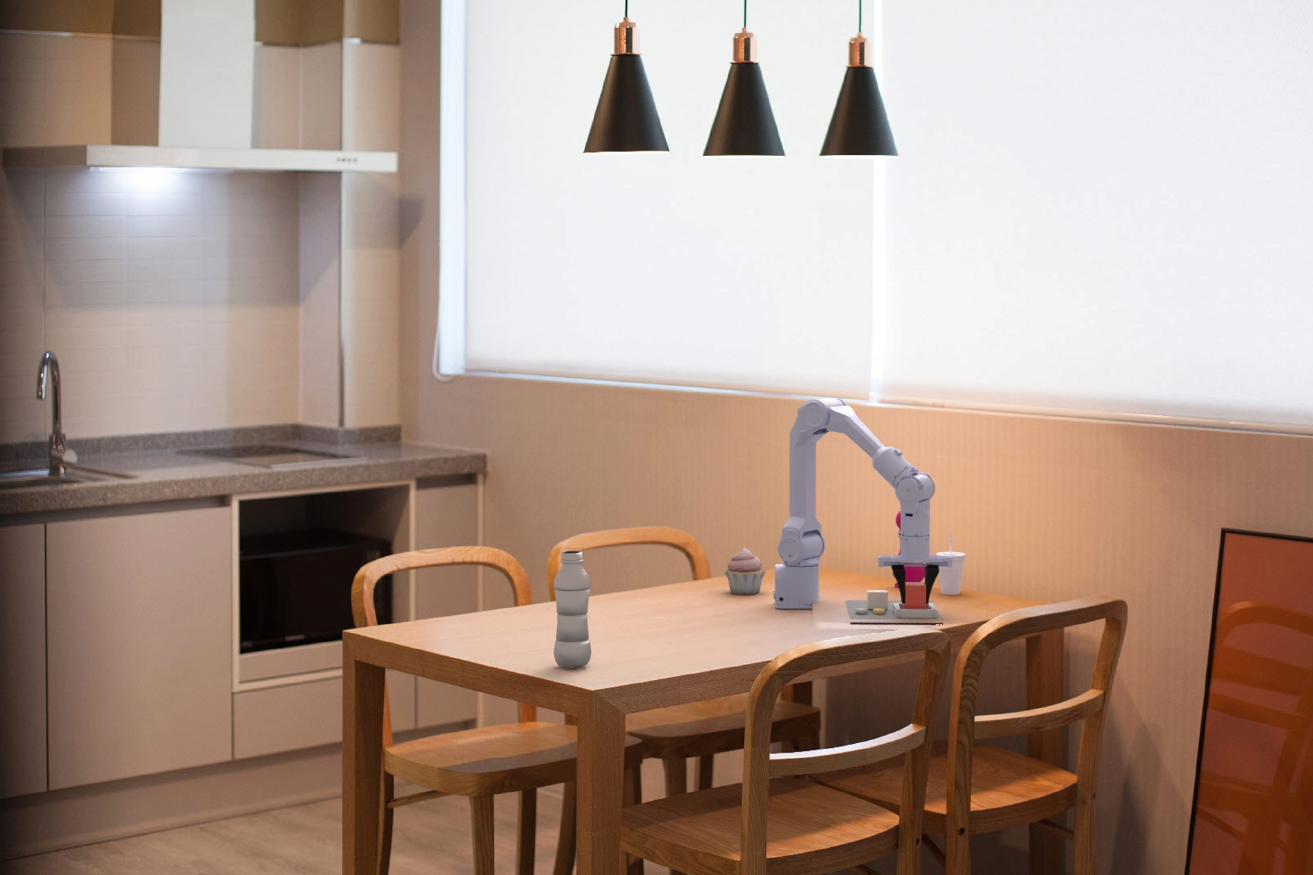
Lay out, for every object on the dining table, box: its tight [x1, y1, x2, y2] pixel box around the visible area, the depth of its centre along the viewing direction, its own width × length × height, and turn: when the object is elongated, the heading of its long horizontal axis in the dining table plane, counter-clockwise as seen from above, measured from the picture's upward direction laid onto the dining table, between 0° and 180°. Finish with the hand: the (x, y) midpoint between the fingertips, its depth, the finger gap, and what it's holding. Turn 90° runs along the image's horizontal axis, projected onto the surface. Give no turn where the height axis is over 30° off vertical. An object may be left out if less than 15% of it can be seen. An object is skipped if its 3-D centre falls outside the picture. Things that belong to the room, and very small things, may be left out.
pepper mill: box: [892, 510, 925, 589], centre depth 337 cm, size 7×7×20 cm
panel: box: [844, 599, 944, 626], centre depth 311 cm, size 18×20×3 cm
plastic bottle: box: [553, 550, 592, 668], centre depth 265 cm, size 6×7×20 cm
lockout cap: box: [904, 581, 926, 609], centre depth 306 cm, size 4×4×5 cm
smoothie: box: [935, 532, 967, 596], centre depth 329 cm, size 6×6×14 cm
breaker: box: [866, 589, 889, 609], centre depth 312 cm, size 4×2×3 cm, turn 86°
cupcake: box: [723, 546, 767, 595], centre depth 338 cm, size 9×9×10 cm
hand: (914, 602), depth 306 cm, fingers closed on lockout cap, 4 cm apart
